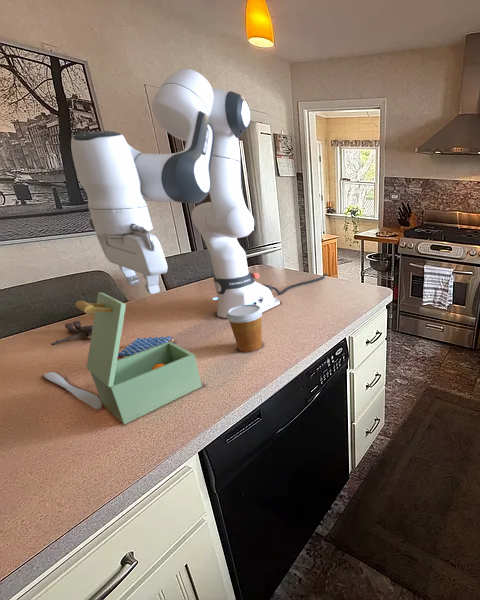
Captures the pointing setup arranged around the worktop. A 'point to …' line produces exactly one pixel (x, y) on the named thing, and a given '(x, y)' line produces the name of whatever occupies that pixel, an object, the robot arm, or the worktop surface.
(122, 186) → the robot arm
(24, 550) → the worktop surface
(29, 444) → the worktop surface
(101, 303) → the lid
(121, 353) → the woven mat
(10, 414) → the worktop surface
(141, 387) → the chest
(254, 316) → the disposable coffee cup
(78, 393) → the butter knife
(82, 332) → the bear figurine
